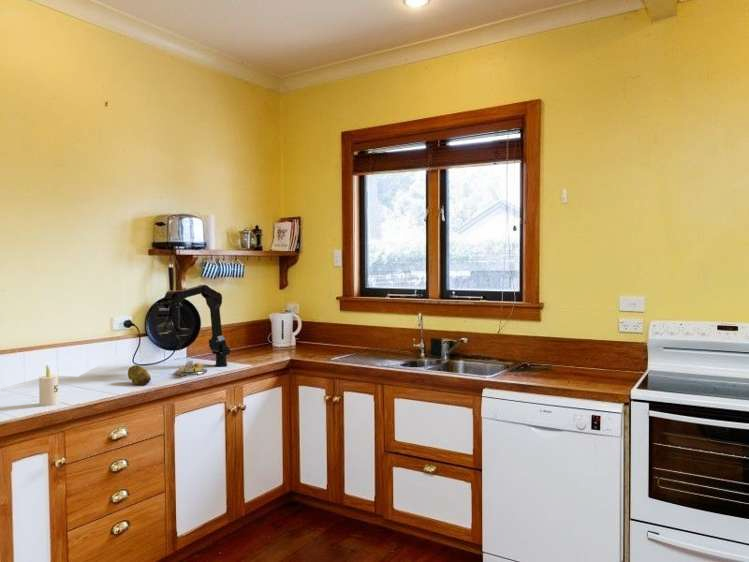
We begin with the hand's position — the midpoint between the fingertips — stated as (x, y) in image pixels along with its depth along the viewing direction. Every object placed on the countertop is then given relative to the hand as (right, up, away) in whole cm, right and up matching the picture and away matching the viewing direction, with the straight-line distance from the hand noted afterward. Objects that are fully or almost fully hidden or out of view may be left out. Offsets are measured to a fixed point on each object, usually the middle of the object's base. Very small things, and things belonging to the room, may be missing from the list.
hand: (173, 348), depth 278 cm
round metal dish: (+7, -13, +5) cm, 16 cm away
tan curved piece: (+8, -11, +1) cm, 14 cm away
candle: (-27, -15, -58) cm, 66 cm away
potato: (-8, -14, -21) cm, 26 cm away
